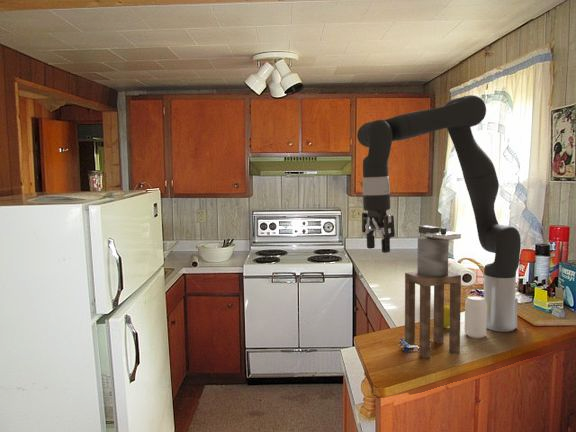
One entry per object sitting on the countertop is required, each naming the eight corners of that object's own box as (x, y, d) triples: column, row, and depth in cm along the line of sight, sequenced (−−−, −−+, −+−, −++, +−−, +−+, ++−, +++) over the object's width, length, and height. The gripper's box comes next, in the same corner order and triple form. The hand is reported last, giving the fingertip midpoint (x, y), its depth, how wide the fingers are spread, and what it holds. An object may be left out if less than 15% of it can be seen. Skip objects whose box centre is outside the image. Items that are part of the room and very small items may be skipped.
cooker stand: (439, 341, 135) (440, 235, 132) (459, 352, 127) (461, 239, 124) (404, 346, 131) (405, 238, 128) (423, 358, 123) (424, 242, 120)
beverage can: (473, 330, 143) (474, 293, 142) (490, 336, 138) (491, 298, 137) (460, 334, 140) (460, 296, 139) (476, 340, 135) (477, 301, 134)
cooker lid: (435, 232, 137) (435, 223, 137) (468, 238, 124) (468, 228, 124) (409, 234, 134) (409, 225, 134) (440, 240, 121) (440, 231, 121)
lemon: (455, 331, 143) (456, 306, 142) (437, 330, 144) (437, 306, 143) (452, 325, 148) (453, 301, 147) (435, 324, 149) (435, 301, 149)
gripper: (401, 192, 121) (403, 252, 122) (375, 192, 134) (377, 245, 136) (377, 194, 119) (378, 255, 120) (352, 193, 132) (354, 248, 134)
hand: (378, 250), depth 128 cm, fingers open, 8 cm apart
